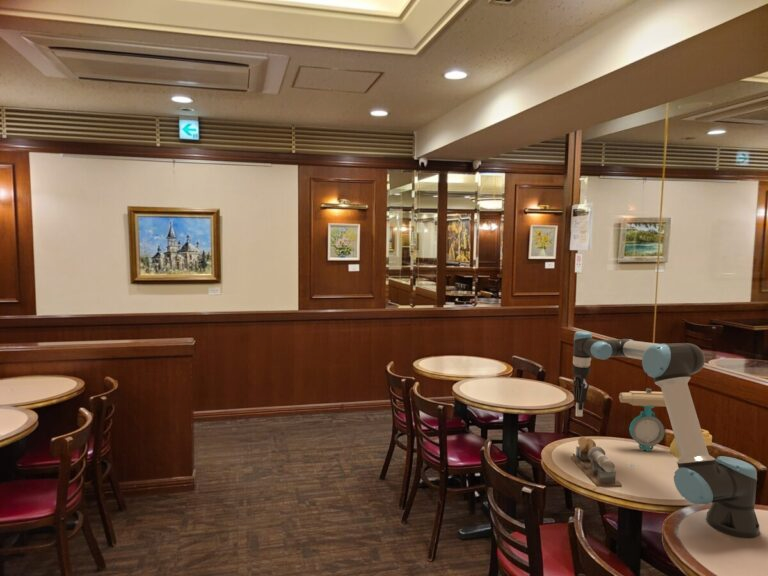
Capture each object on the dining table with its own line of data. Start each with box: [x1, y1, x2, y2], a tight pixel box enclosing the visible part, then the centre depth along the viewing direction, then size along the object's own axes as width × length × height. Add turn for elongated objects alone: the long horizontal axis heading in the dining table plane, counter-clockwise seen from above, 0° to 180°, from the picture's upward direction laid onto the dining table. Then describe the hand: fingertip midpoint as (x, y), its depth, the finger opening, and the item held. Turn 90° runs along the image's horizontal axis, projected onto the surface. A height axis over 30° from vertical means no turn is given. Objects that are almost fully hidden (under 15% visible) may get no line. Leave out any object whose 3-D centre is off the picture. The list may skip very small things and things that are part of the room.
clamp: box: [669, 428, 713, 460], centre depth 234 cm, size 20×9×16 cm, turn 176°
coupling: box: [575, 436, 597, 461], centre depth 231 cm, size 6×7×10 cm
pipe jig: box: [570, 445, 623, 488], centre depth 221 cm, size 29×10×12 cm, turn 1°
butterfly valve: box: [618, 387, 667, 452], centre depth 245 cm, size 27×7×30 cm, turn 84°
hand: (578, 415), depth 239 cm, fingers closed
